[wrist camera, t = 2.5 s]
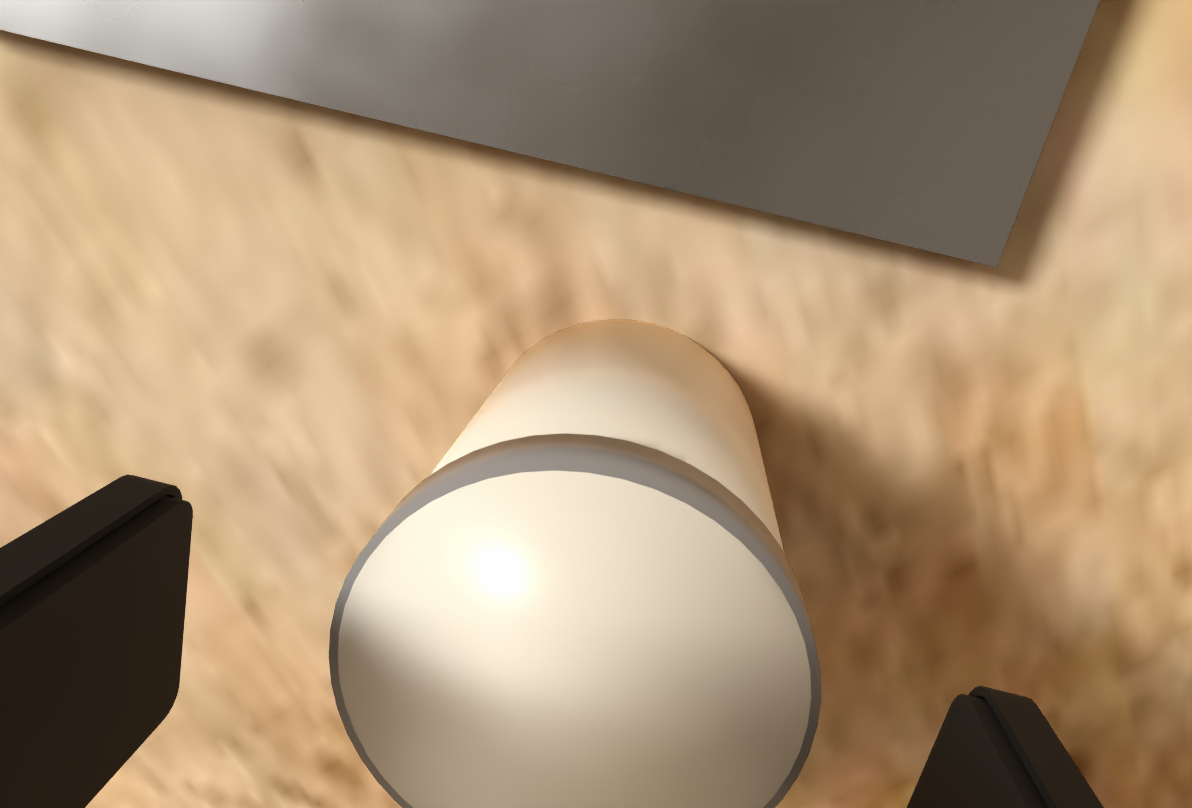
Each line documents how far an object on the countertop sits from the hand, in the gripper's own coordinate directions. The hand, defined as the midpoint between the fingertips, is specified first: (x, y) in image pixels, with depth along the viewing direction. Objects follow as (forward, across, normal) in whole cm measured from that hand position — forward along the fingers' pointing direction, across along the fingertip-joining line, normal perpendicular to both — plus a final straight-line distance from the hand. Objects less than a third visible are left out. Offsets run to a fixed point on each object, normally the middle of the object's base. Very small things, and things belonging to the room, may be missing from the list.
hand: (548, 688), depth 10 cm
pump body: (+6, 0, 0) cm, 6 cm away
